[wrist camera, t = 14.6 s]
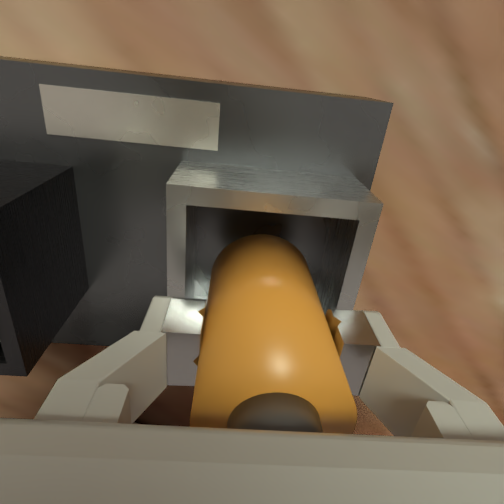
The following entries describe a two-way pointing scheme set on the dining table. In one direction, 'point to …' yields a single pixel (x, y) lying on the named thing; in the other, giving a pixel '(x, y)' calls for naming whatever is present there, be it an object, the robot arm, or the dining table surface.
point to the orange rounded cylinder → (268, 346)
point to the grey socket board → (166, 193)
